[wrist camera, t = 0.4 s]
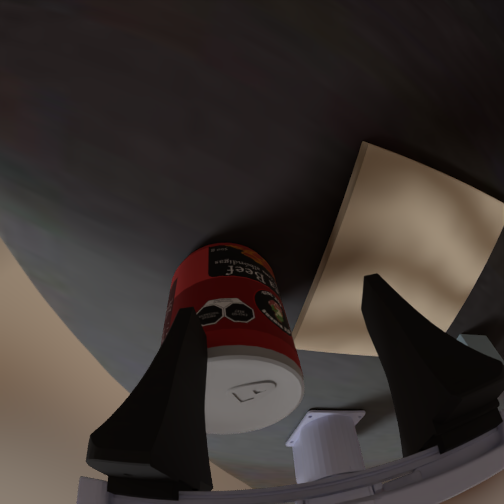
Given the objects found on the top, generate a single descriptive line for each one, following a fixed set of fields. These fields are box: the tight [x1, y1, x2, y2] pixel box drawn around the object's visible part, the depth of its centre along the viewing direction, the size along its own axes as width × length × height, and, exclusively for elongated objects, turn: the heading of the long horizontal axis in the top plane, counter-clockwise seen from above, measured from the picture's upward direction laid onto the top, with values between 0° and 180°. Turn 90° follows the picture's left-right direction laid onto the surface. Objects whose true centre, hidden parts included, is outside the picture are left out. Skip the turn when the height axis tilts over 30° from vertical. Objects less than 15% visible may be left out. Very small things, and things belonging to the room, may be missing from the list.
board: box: [292, 141, 504, 356], centre depth 24 cm, size 18×16×1 cm
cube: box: [457, 334, 504, 365], centre depth 29 cm, size 6×6×6 cm
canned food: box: [161, 243, 304, 434], centre depth 20 cm, size 8×8×11 cm
